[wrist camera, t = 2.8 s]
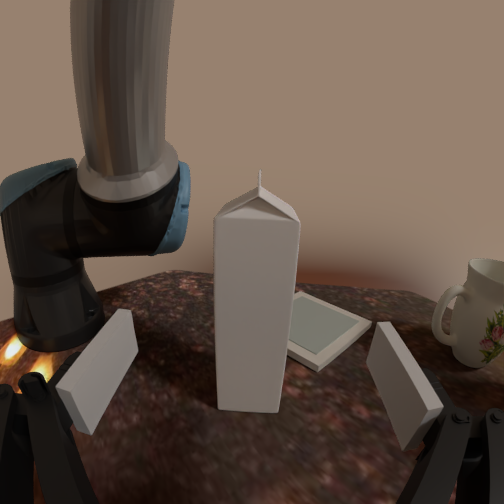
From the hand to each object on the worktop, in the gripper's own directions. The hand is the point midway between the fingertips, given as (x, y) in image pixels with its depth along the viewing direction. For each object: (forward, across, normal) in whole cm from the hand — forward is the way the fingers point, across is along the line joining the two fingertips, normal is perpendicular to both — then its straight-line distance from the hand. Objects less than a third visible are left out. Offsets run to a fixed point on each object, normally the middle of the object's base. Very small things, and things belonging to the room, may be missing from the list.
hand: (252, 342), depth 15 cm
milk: (+10, 0, -14) cm, 17 cm away
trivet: (+24, +8, -14) cm, 28 cm away
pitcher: (+14, +31, -14) cm, 37 cm away
